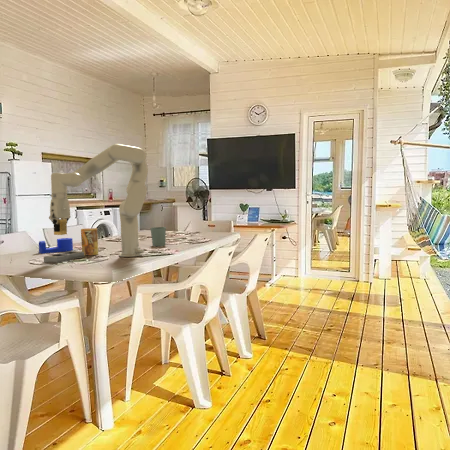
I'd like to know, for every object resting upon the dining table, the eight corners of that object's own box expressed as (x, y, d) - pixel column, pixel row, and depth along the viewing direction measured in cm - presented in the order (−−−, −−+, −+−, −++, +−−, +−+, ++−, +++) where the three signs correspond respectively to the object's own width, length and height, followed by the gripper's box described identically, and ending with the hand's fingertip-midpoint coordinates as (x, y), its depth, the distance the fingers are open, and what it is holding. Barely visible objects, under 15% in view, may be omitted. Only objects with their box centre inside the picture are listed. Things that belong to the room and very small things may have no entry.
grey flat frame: (71, 256, 230) (71, 251, 230) (84, 257, 227) (83, 251, 227) (43, 262, 212) (43, 256, 211) (57, 263, 208) (56, 257, 208)
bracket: (69, 249, 261) (68, 237, 261) (75, 250, 255) (74, 238, 254) (37, 253, 248) (37, 240, 247) (43, 254, 241) (42, 241, 240)
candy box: (98, 253, 238) (97, 227, 237) (98, 254, 234) (96, 228, 233) (82, 254, 236) (81, 228, 235) (82, 255, 232) (80, 229, 231)
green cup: (164, 246, 266) (164, 228, 265) (149, 246, 266) (149, 228, 265) (167, 244, 276) (166, 226, 275) (152, 244, 276) (152, 227, 275)
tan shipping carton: (67, 234, 214) (67, 219, 214) (61, 235, 210) (60, 219, 210) (59, 233, 216) (59, 219, 216) (53, 234, 212) (52, 219, 211)
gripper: (52, 196, 203) (53, 232, 204) (76, 196, 218) (77, 230, 220) (41, 196, 205) (42, 232, 207) (65, 196, 221) (66, 229, 222)
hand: (60, 230), depth 213 cm, fingers closed on tan shipping carton, 4 cm apart
